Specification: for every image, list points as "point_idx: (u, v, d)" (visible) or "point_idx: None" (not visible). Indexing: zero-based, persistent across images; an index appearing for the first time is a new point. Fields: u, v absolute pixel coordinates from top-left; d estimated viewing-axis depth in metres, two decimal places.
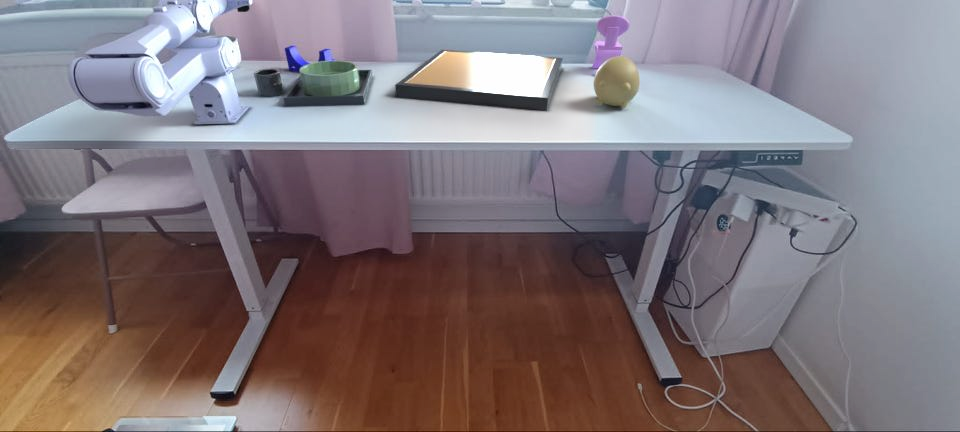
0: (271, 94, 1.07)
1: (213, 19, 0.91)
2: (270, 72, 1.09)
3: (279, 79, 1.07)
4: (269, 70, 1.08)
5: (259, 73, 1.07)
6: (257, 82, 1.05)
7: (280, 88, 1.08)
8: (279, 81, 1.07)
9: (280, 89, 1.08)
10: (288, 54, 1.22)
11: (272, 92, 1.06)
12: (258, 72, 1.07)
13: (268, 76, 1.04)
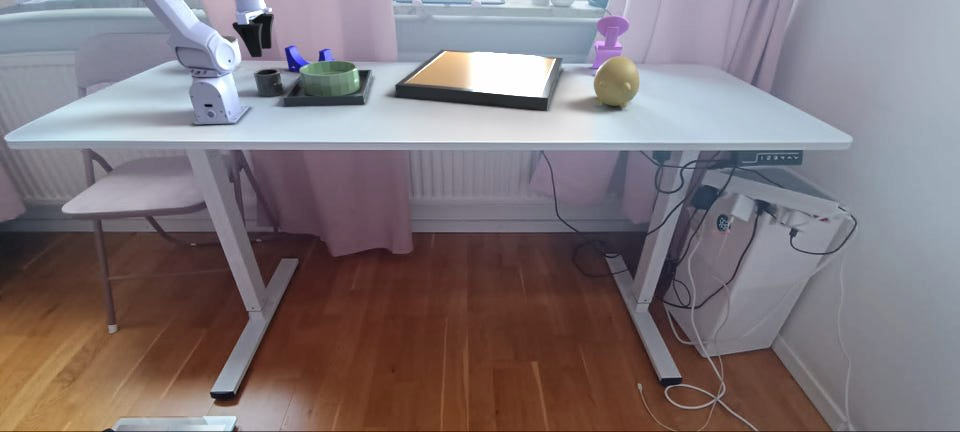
0: (271, 94, 1.07)
1: None
2: (270, 72, 1.09)
3: (279, 79, 1.07)
4: (269, 70, 1.08)
5: (259, 73, 1.07)
6: (257, 82, 1.05)
7: (280, 88, 1.08)
8: (279, 81, 1.07)
9: (280, 89, 1.08)
10: (288, 54, 1.22)
11: (272, 92, 1.06)
12: (258, 72, 1.07)
13: (268, 76, 1.04)
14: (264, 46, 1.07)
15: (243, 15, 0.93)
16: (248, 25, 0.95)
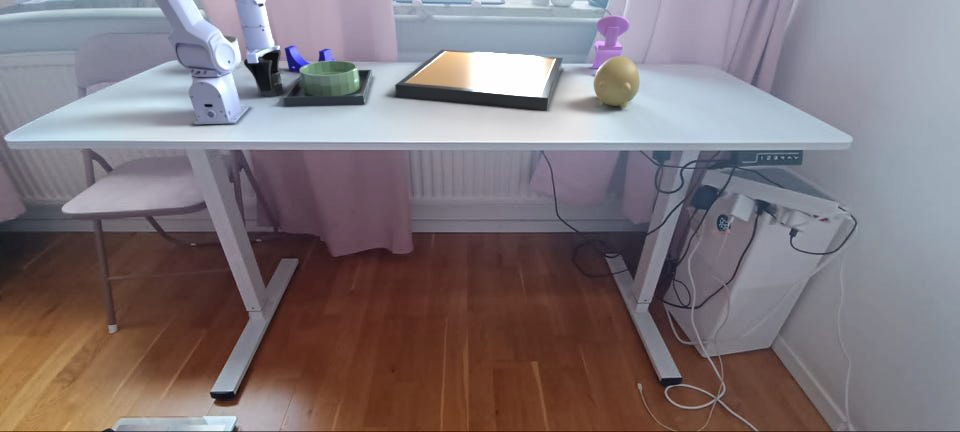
0: (271, 94, 1.07)
1: (251, 20, 0.98)
2: None
3: (279, 79, 1.07)
4: None
5: None
6: None
7: (280, 88, 1.08)
8: (279, 81, 1.07)
9: (280, 89, 1.08)
10: (288, 54, 1.22)
11: (272, 92, 1.07)
12: None
13: None
14: None
15: (253, 55, 0.97)
16: (259, 62, 1.00)
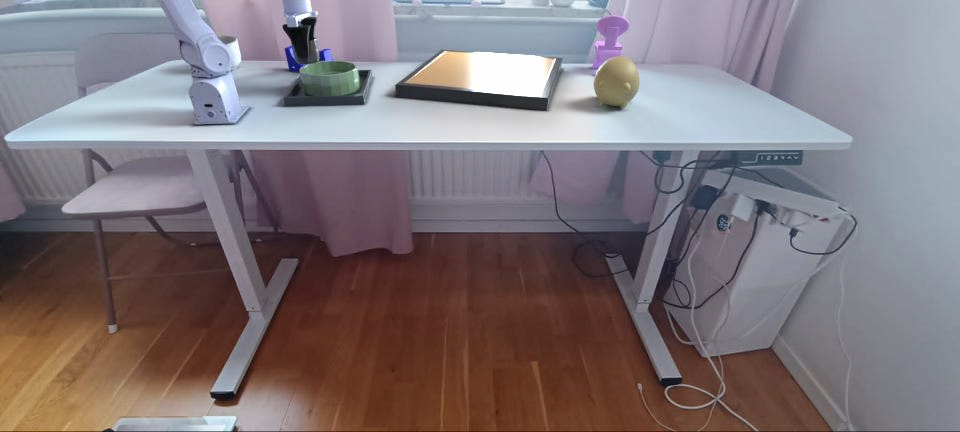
0: (308, 61, 1.04)
1: None
2: None
3: (316, 46, 1.05)
4: None
5: None
6: (294, 49, 1.03)
7: (317, 56, 1.05)
8: (316, 48, 1.05)
9: (317, 57, 1.05)
10: (288, 54, 1.22)
11: (309, 59, 1.04)
12: None
13: None
14: None
15: (293, 18, 0.95)
16: (298, 27, 0.98)
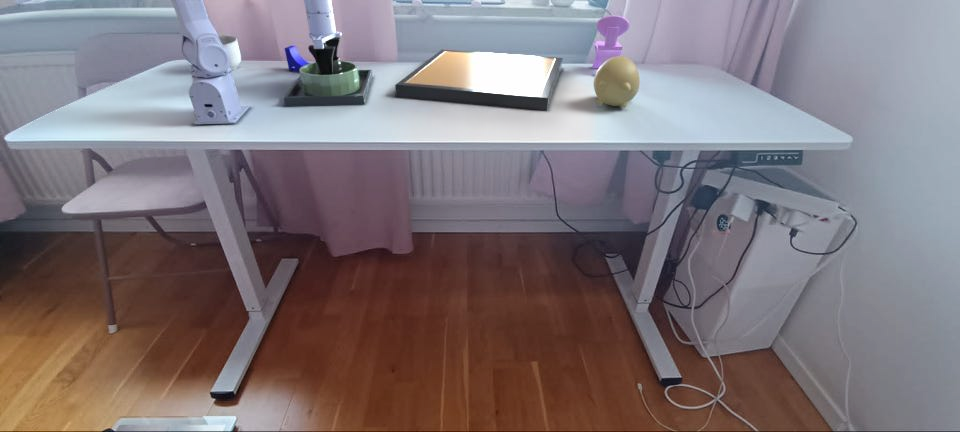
0: None
1: (311, 6, 0.99)
2: None
3: (340, 66, 1.08)
4: None
5: None
6: (318, 68, 1.06)
7: None
8: (339, 68, 1.08)
9: None
10: (288, 54, 1.22)
11: None
12: None
13: None
14: None
15: (319, 40, 0.98)
16: (323, 48, 1.01)
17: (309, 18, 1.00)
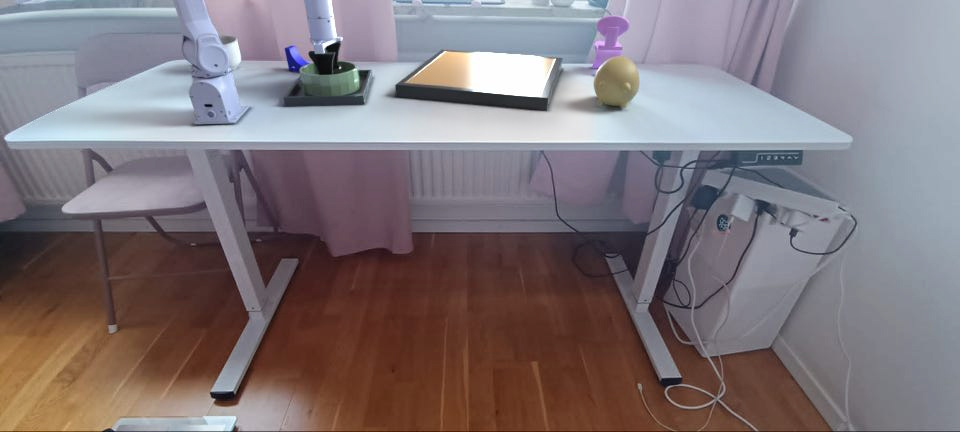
0: None
1: (312, 11, 0.99)
2: None
3: None
4: None
5: None
6: None
7: None
8: None
9: None
10: (288, 54, 1.22)
11: None
12: None
13: None
14: None
15: (320, 45, 0.99)
16: (323, 54, 1.01)
17: (310, 23, 1.01)
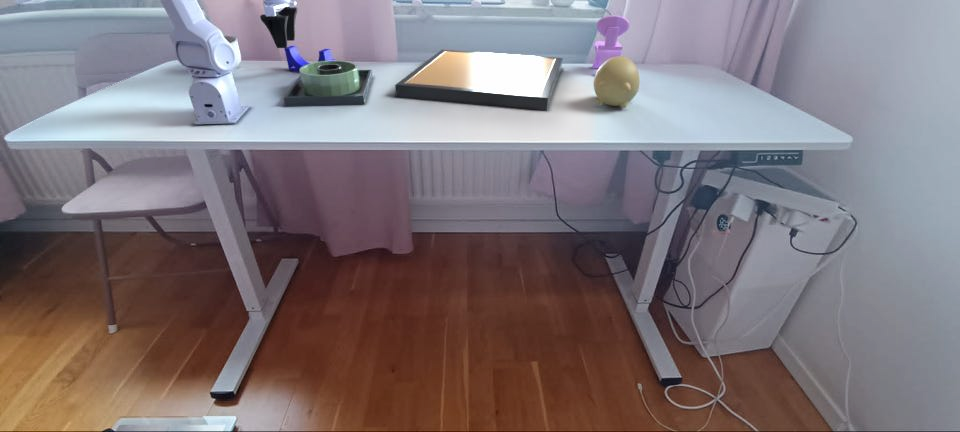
0: None
1: None
2: (331, 67, 1.11)
3: None
4: (330, 65, 1.10)
5: (321, 68, 1.09)
6: None
7: None
8: None
9: None
10: (288, 54, 1.22)
11: None
12: (320, 67, 1.09)
13: (331, 71, 1.06)
14: (288, 38, 1.12)
15: (271, 7, 0.98)
16: (275, 17, 1.00)
17: None
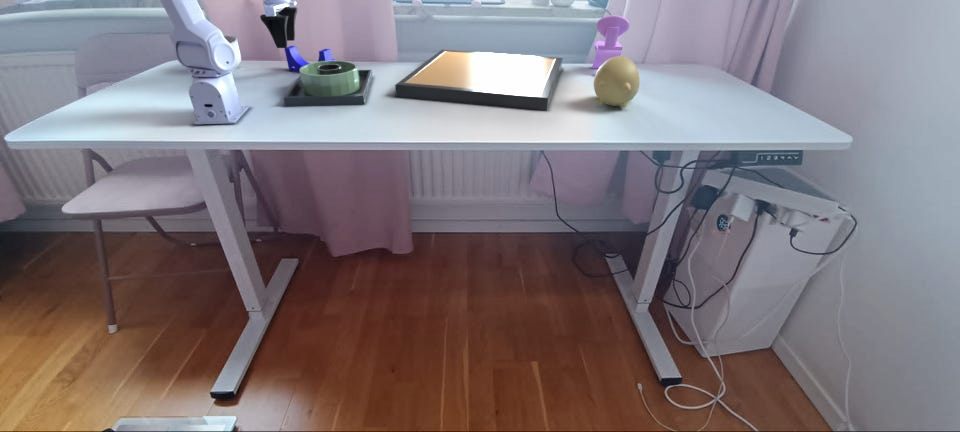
0: None
1: None
2: (331, 67, 1.11)
3: None
4: (330, 65, 1.10)
5: (321, 68, 1.09)
6: None
7: None
8: None
9: None
10: (288, 54, 1.22)
11: None
12: (320, 67, 1.09)
13: (331, 71, 1.06)
14: (288, 38, 1.12)
15: (271, 7, 0.98)
16: (275, 17, 1.00)
17: None
